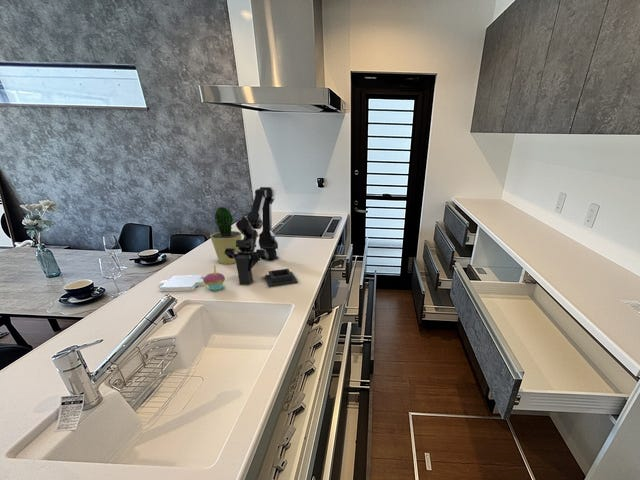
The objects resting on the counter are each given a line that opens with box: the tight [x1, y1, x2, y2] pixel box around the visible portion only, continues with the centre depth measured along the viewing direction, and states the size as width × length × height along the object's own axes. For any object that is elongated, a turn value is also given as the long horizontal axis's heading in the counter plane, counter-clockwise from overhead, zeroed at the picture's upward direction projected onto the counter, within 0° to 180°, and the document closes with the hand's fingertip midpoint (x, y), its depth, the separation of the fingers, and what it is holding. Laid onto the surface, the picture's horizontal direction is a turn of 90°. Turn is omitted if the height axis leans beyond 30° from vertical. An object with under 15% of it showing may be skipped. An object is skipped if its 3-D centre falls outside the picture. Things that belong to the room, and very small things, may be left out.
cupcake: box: [203, 264, 226, 291], centre depth 133 cm, size 9×8×12 cm
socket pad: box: [264, 268, 298, 288], centre depth 145 cm, size 13×13×4 cm
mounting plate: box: [159, 274, 206, 292], centre depth 137 cm, size 18×13×2 cm
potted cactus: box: [209, 206, 243, 265], centre depth 162 cm, size 15×15×30 cm
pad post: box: [235, 255, 254, 286], centre depth 139 cm, size 4×4×13 cm
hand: (243, 270), depth 138 cm, fingers closed on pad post, 4 cm apart
